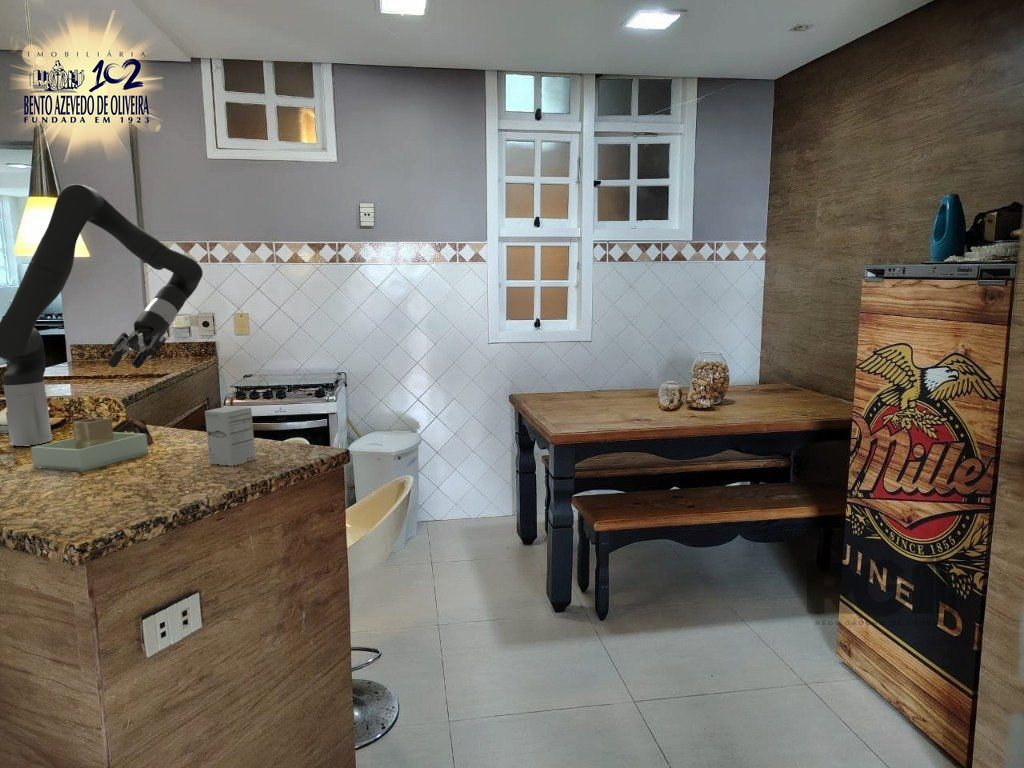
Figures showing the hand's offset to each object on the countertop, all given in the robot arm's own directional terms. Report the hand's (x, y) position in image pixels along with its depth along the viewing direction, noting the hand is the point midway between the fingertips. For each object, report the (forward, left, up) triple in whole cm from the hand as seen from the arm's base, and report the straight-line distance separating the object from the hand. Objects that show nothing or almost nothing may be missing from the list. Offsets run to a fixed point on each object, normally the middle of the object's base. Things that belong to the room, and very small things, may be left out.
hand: (122, 365), depth 176 cm
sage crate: (+1, -12, -22) cm, 25 cm away
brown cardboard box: (+1, -11, -21) cm, 24 cm away
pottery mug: (-6, +5, -22) cm, 24 cm away
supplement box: (+39, -6, -22) cm, 45 cm away
